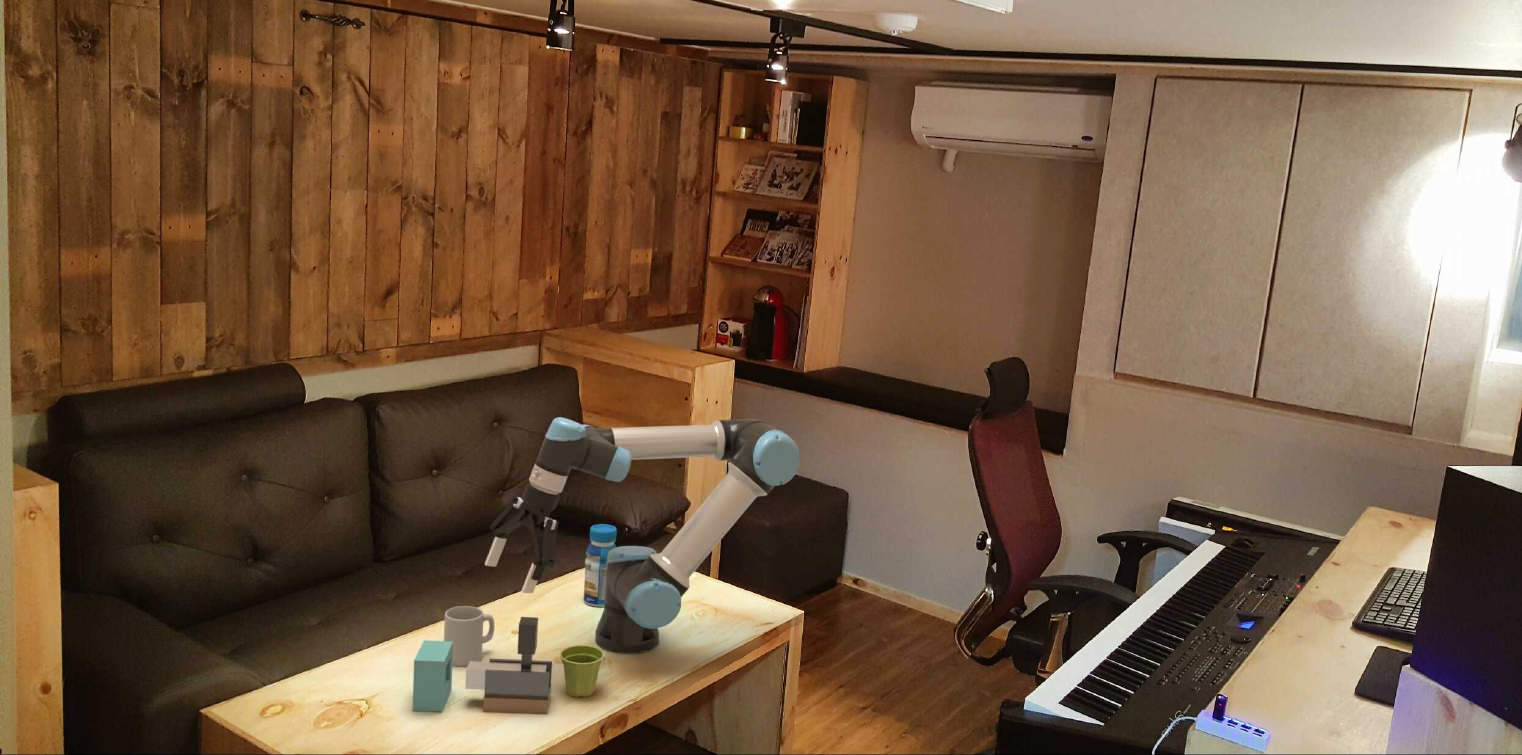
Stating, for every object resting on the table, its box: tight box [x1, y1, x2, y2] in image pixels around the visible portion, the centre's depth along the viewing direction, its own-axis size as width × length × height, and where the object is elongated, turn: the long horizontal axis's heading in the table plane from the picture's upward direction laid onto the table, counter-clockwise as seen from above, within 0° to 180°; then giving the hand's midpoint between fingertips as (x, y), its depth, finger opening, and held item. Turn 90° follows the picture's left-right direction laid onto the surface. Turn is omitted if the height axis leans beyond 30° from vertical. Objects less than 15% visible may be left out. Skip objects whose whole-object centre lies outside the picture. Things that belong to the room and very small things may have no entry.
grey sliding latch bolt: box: [465, 616, 547, 691], centre depth 249 cm, size 16×4×15 cm, turn 94°
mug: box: [443, 605, 495, 667], centre depth 271 cm, size 12×8×11 cm
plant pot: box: [559, 644, 605, 698], centre depth 258 cm, size 9×9×9 cm
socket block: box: [412, 639, 453, 713], centre depth 249 cm, size 6×10×11 cm, turn 4°
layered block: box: [482, 657, 553, 715], centre depth 251 cm, size 13×8×8 cm, turn 94°
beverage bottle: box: [583, 523, 618, 608], centre depth 308 cm, size 8×8×20 cm
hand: (508, 578), depth 259 cm, fingers open, 13 cm apart
